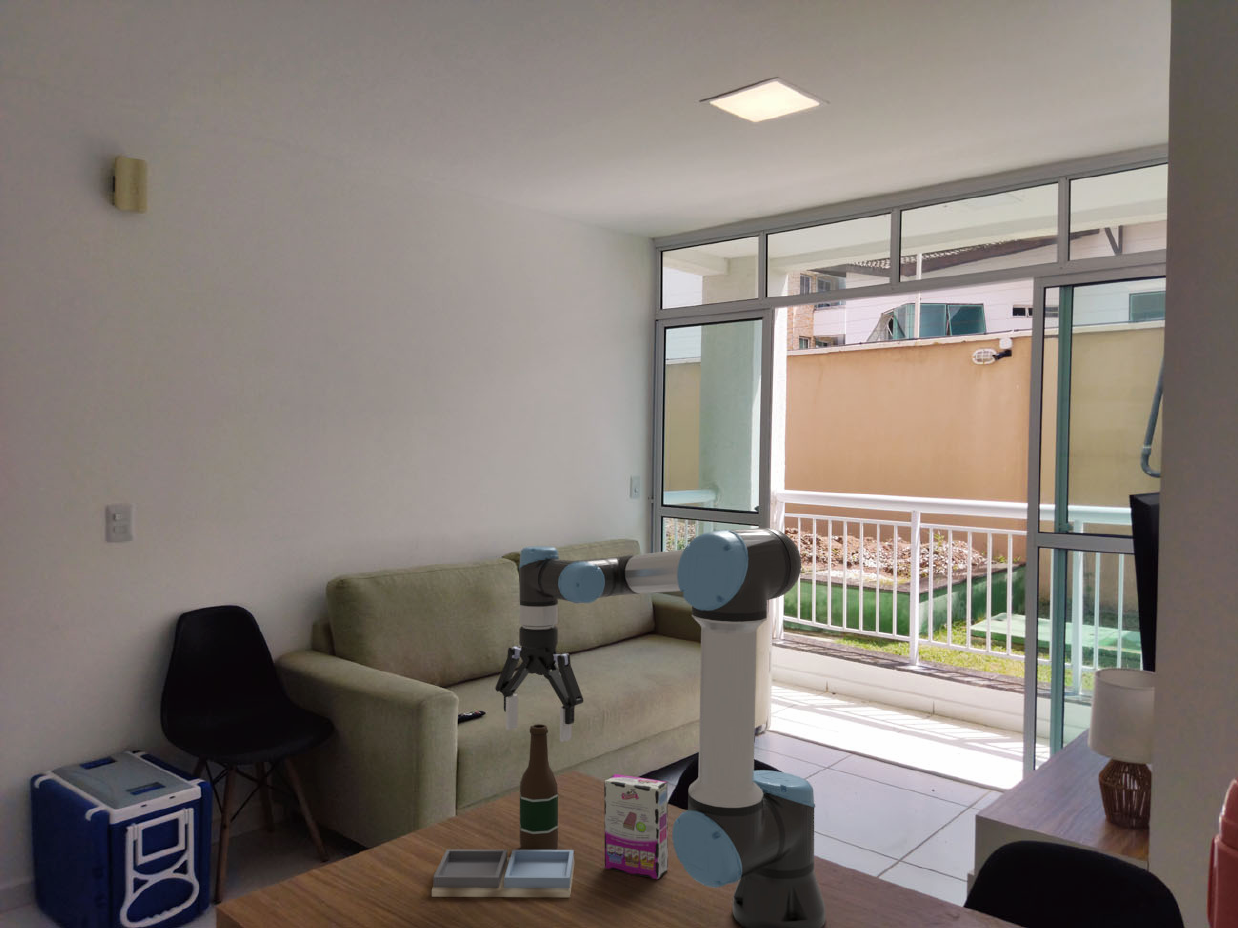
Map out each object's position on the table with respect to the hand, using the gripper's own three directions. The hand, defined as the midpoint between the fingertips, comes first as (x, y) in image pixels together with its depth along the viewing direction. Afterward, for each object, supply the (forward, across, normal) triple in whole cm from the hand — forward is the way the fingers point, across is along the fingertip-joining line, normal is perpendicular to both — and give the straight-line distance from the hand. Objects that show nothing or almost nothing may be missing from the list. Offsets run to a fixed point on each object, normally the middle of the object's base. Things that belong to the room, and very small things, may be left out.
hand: (538, 734), depth 173 cm
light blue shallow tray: (+21, -9, +10) cm, 25 cm away
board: (+22, -4, +13) cm, 26 cm away
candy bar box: (+22, -21, -4) cm, 31 cm away
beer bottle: (+23, 0, 0) cm, 23 cm away
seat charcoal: (+21, +2, +17) cm, 27 cm away
